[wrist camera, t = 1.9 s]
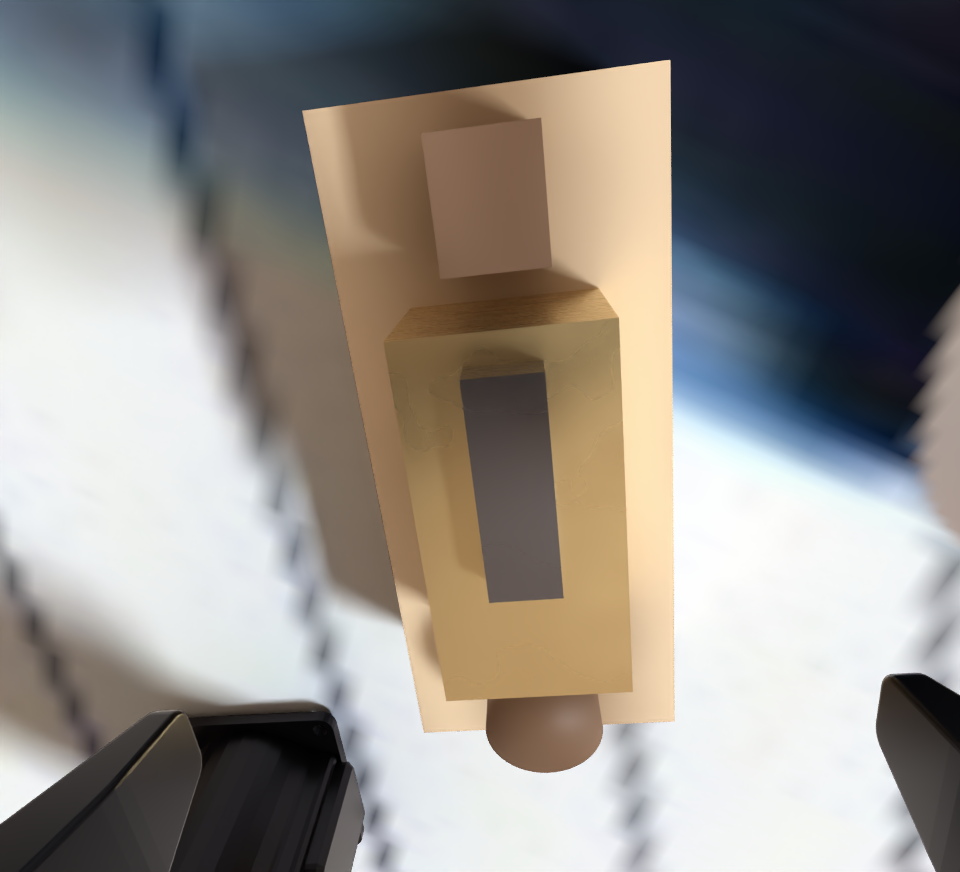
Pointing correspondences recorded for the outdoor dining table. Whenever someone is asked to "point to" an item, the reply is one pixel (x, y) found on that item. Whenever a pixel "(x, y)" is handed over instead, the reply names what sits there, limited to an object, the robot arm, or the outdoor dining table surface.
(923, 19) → the outdoor dining table surface
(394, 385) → the tan slotted block
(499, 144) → the plane body
